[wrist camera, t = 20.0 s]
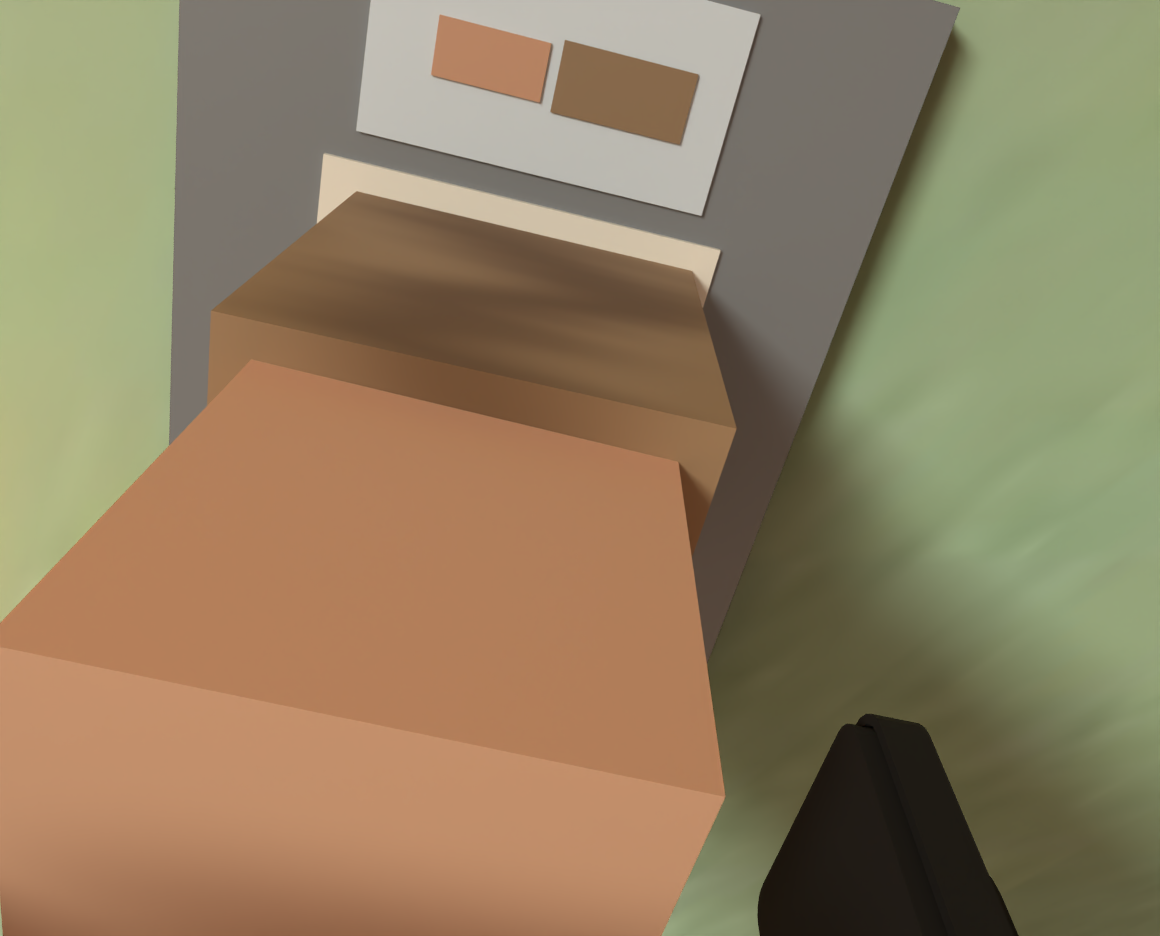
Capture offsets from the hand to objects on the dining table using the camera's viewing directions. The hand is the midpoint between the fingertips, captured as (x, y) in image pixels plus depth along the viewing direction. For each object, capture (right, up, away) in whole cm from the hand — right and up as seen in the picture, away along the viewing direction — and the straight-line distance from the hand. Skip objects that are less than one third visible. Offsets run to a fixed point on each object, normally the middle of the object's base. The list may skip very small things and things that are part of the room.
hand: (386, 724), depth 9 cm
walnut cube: (0, +4, +8) cm, 9 cm away
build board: (0, +5, +9) cm, 10 cm away
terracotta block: (0, +1, +2) cm, 2 cm away
